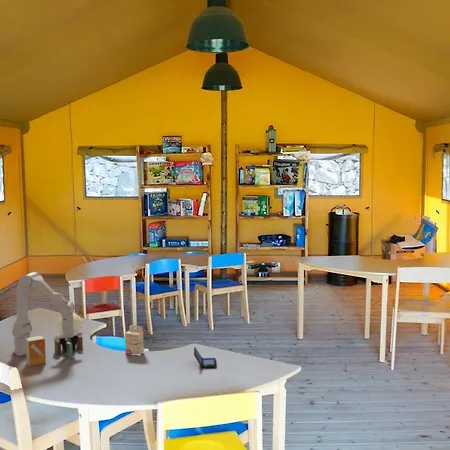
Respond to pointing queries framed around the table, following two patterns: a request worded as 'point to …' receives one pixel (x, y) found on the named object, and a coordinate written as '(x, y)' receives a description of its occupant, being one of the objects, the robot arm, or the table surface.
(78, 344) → the domino
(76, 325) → the geodesic sphere
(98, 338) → the table surface
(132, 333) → the ink cartridge box
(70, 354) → the domino
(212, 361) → the handheld game console
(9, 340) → the table surface
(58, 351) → the domino
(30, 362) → the small box
